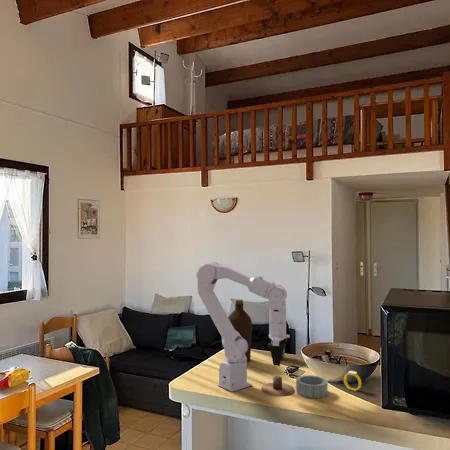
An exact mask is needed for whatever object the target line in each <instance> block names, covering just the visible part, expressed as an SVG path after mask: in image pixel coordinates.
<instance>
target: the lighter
mask: <svg viewBox="0 0 450 450" xmlns="http://www.w3.org/2000/svg"><path fill="white" fill-rule="evenodd" d="M321 359H322V361H325V362H330V360H329V359H330V358H329V355H328V354H325V355H322V356H321ZM330 363H331V362H330Z"/></svg>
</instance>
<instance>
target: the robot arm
mask: <svg viewBox="0 0 450 450" xmlns="http://www.w3.org/2000/svg"><path fill="white" fill-rule="evenodd" d="M196 279H197V293H198V297H200V299H201V301H202V304H203V305H204V307H205V309H206V310H207V312H208V315H209V316H210V319H211V320H212V321H213V324H214V326H215V327H216V329H217V331H218V333H219V334H220V337H221V344H222V346H223V350H224V356H225V358H226V359H225V361H223V362H222V363H220V365H219V367H218V369H219V370H218V383H217V386H218V387H221V388H223V389H225V390H228V391H230V392H235V391H239V390H243V389H245V388H248V387H252V386H253V384H252V383H251V382H248V362H247V357H246V355H245V353H246V352H247V350H248V343H247V341H246V340H245V339H243V338H242V337H241V336H240V334H239V333H238V332H237V331H236V330H235V329H234V327H233V326H232V324H231V322H230V320H229V318H228V317H229V315H227V312H226V311H225V309H224V308H223V306H222V303H221V302H220V301H219V298H218V296H217V294H216V293H215V291H214V290H215V287H216V284H217V282H218V280H222V279H228V280H230V281H233V282H234V283H235V282H236V283H238V284H241V285H242V286H245V287H247V289H248V291H249V293H253V294H255V295H257V296H259V297H261V298H264V299H265V300H268V302H269V308H268V310H269V313H268V315H269V317H268V321H269V323H268V324H269V325H268V328H269V331H268V332H269V334H268V338H269V339H270V342H268V343H267V348H268V350H269V351H270V355H272V356H271V360H272V364H273V366H276V367H280V366H281V364H282V363H281V362H282V361H281V359H282V355H283V350H284V347H285V348H286V342H287V341H288V339H289V338H291V337H290V334H287V307H286V306H287V301H286V299H287V297H288V292H287V289H286V288H285V287H284V286H282V284H276V283H275V282H270V281H268V280H265V279H264V277H263V276H253V277H250V276H248V275H245V274H243V273H242V272H239V271H238V270H236V269H234V268H232V267H229V266H228V265H225V264H222V263H219V262H216V261H212V262H209V263H203V264H201V265H200V266H199V268H198V270H197V272H196ZM286 340H287V341H286ZM271 341H272V343H271Z"/></svg>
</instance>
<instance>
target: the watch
mask: <svg viewBox="0 0 450 450" xmlns="http://www.w3.org/2000/svg"><path fill="white" fill-rule="evenodd" d="M348 376H352V377H353V376H354V377H355V378H356V379H357V382H358V386H357V387H356V388H355V387H351V386H350V384H349V383H348V381H347V379H348ZM343 384H344V385H345V387H346V388H347V389H348V390H352V391H354V392H356V391H358V390H360V389H361V387H362V379H361V377H360V376H359V374H358V372H357V371H354V370H349V371H348V372H347V373H345V375H344V377H343Z"/></svg>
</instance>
